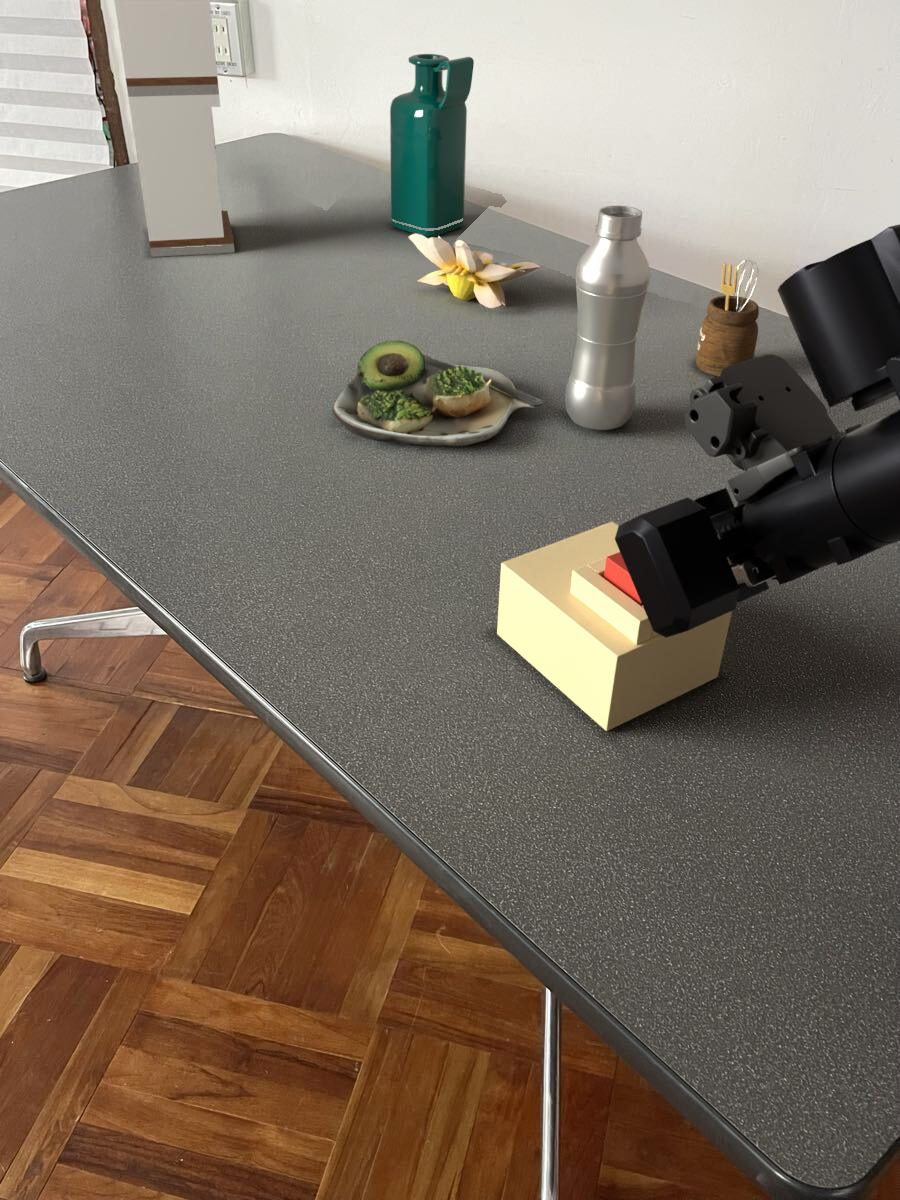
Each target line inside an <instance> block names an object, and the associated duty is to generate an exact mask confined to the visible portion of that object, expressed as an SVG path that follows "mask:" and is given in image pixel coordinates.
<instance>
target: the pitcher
mask: <svg viewBox="0 0 900 1200" xmlns="http://www.w3.org/2000/svg"><path fill="white" fill-rule="evenodd" d="M407 61H408V63H409V64H412V65H414V86H413V88H412V90H411V91H408V92H405V93H402V94H399V95H397V96H395V97H394V98H393V99H392V101H391V103H390V106H389V136H390V137H389V142H390V143H389V144H390V221H391V223H390V224H391V225H392V227H393V228H395V229H397V230H400V231H404V232H408V233H411V234H420V235H423V236H425V237H426V238H432V237H438V236H441V235H444V234H446V233H449V232H452V231H455V230H457V229H461V228H462V226H463V225H464V223H465V219H464V220H463V221H462V222H460V223H457V224H454V225H451V226H449V227H446V228H443V229H440V230H434V231H425V230H419V229H416V228H413V227H409V226H406V225H402V224H399V223H395V222H393V221H392V220H391V218H392V219H394V220H396V221H399V222H403V223H407V224H411V225H414V226H417V227H421V228H438V227H441V226H444V225H447V224H449V223H452V222H454V221H457V220H460V219H462V218H463V217H464V218H465V191H466V162H467V161H466V160H467V159H466V158H467V157H466V156H467V123H468V121H467V120H468V109H467V104H466V101H467V100H468V99H469V95H470V93H471V89H472V81H473V74H474V73H473V72H474V65H475V61H474V58H472V57H471V56H464V57H459V58H455V59H449V57H447V56H445V55H442V54H437V53H418V54H413V55H411V56H409V57H408V59H407ZM444 71H447V72H446V84H445V88H444V85H443V73H444ZM444 89H445V90H444Z"/></svg>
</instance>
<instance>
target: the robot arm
mask: <svg viewBox="0 0 900 1200" xmlns="http://www.w3.org/2000/svg"><path fill="white" fill-rule="evenodd" d="M777 292H778V295H779V297H780V299H781V301H782V302H781V303H782V304H783V306H784V309H785V311H786V313H787V315H788V318H789V319H790V323H791V324H792V327H793V329H794V332H795V334H796V336H797V339H798V341H799V344H800V345H801V347H802V350H803V352H804V355H805V357H806V359H807V362H808V365H809V366H810V368H811V371H812V373H813V376H814V378H815V381H816V383H817V385H818V387H819V389H820V392H821V394H822V396H823V399H825V400H826V403H827V405H828V407H829V408H832V407H835V406H838V405H839V404H842V403H845V402H846V401H849V400H850V399H851V400H850V403H851V405H852V408H853V411H854V412H859V411H862V410H865V409H868V408H870V407H873V406H876V405H879V404H880V403H883V402H886V401H888V400H890V399H893V398H895V397H897V399H898V402H900V224H899V223H898V224H895V225H891V226H888V227H886V228H885V229H884V230H882V231H880V232H879V233H877V234H876V235H875V236H873V237H872V238H869V239H867V240H864V241H862V242H860V243H857V244H855V245H853V246H850V247H848V248H846V249H844V250H842V251H839V252H838V253H836V254H834V255H832V256H830V257H828V258H826V259H825V260H820V261H816V262H813V263H809V264H807V265H805V266H803V267H801V268H800V269H799V270H797V271H796V272H794V273H793V274H792V275H790V276H789V277H788V278H787V279H785V280H784V281H783V282H782V283H781V284H780V285H779V286H778V288H777ZM689 401H690V406H689V407H688V409H687V410H686V411H685V413H684V424H685V427H686V429H687V430H688V431H689V433H690V434H691V436H692V437H693V438H694V440H696V442H697V444H699V446H700V447H701V449H702V450H703V451H704V453H706V455H707V456H708V457H711V458H718V457H721V456H723V455H726V457H727V458H728V459H729V461H730V462H731V463H732V464H733V465H734V466H735V467H737V468H738V469H740V470H742V471H744V472H742V473H739V474H738V475H736V476H734V477H732V478H729V479H728V480H727V483H728V485H729V487H730V491H731V492H732V495H733V497H734V500H735V501H736V502H737V506H735V505H734V502H733V499H732V497H731V495H730V493H729V490H728V489H727V487H724V488H722V489H719V490H716V491H713V492H711V493H708V494H706V495H703V496H699V497H698V498H695V499H694V500H693V499H691V498H690V497H685V498H682V499H679V500H677V501H674V502H671V503H669V504H666V505H663V506H660V507H658V508H656V509H655V508H654V509H653V510H650V511H647V512H645V513H641V514H640V515H639V514H638V515H637V516H635V517H633V518H631V519H630V520H629V519H628V520H627V521H625V522H623V523H621V524H618V526H619V527H618V530H617V533H616V536H615V541H616V543H617V546H618V548H619V550H620V553H621V555H622V558H623V560H624V562H625V565H626V567H627V569H628V572H629V574H630V577H631V579H632V581H633V584H634V586H635V589H636V591H637V593H638V596H639V598H640V600H641V603H642V605H643V608H644V610H645V612H646V615H647V617H648V619H649V622H650V624H651V627H652V629H653V631H654V632H656V633H658V634H660V635H662V636H664V637H665V638H667V637H670V636H673V635H676V634H679V633H683V632H686V631H689V630H691V629H693V628H695V627H697V626H700V625H702V624H704V623H706V622H708V621H711V620H713V619H715V618H717V617H719V616H722V615H724V614H726V613H728V612H730V611H732V612H733V611H735V610H736V609H737V604H738V603H741V602H743V601H745V600H747V599H750V598H752V597H754V596H757V595H759V594H761V593H763V592H765V591H767V590H769V589H770V587H769V585H768V582H767V581H771V580H773V581H777V582H778V584H779V586H780V585H784V584H786V583H790V582H793V581H795V580H798V579H800V578H802V577H804V576H806V575H808V574H810V573H812V572H816V571H817V570H819V569H821V568H824V567H827V566H830V565H833V564H836V565H837V566H841V565H844V564H846V563H849V562H853V561H855V560H857V559H860V558H861V557H863V556H866V555H869V554H870V553H873V552H874V551H877V550H879V549H881V548H884V547H885V546H889V545H892V544H896V543H897V542H900V408H898V409H896V410H894V411H891V412H889V413H887V414H885V415H883V416H881V417H879V418H876V419H875V420H873V421H870V422H868V423H867V424H865V425H862V424H861V423H858V424H856V425H853V426H850V427H848V428H845V429H843V430H841V431H839V429H838V428H837V426H836V425H835V423H834V422H833V420H832V419H831V417H830V416H829V413H828V409H827V407H826V406H825V404H824V403H823V402H822V399H820V398H819V397H818V396H817V394H816V392H814V391H813V390H812V388H811V386H809V385H808V383H806V381H805V380H804V378H802V377H801V375H800V374H799V373H798V372H797V371H796V370H795V369H794V367H793V366H792V365H791V363H789V361H787V359H785V358H783V357H781V356H779V355H776V354H772V353H770V354H764V355H760V356H757V357H753V359H750V360H747V361H744V362H740V363H737V364H734V365H731V366H728V367H725V368H724V369H723V370H722V371H721V373H720V374H719V376H714V377H711V378H709V379H708V380H707V382H706V383H705V384H704V385H703V386H702V387H699V388H695V389H693V390H691V391H690V394H689Z"/></svg>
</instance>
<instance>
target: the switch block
mask: <svg viewBox="0 0 900 1200" xmlns="http://www.w3.org/2000/svg"><path fill="white" fill-rule="evenodd" d="M618 527H619V524H617V523H615V522H614V521H609V522H607V523H605V524H601V525H599V526H597V527H596V526H595V527H594V528H591V529H588V530H586V531H583V532H580V533H577V534H575V535H572V536H570V537H567V538H564V539H562V540H561V539H560V540H558V541H556V542H553V543H550V544H548V545H546V546H542V547H539V548H538V549H535V550H531V551H530V552H526V553H524V554H521V555H519V556H516V557H513V558H510V559H507V560H505V561H502V562H501V563H500V576H499V577H500V579H499V595H498V609H497V610H498V611H497V613H498V614H497V626H496V627H497V629H496V634H497V636H498V637H500V638H501V639H502V640H503V641H504V642H505V643H506V644H507V645H509V646H510V647H511V648H512V649H513V650H514V651H515V652H516V653H517V654H519V655H520V656H521V657H522V658H523V659H524V660H525V661H527V662H528V663H529V664H530V665H531V666H532V667H533V668H535V670H537V672H539V673H540V674H541V675H543V676H544V677H545V679H547V680H548V681H549V682H550V683H551V684H552V685H554V686H555V687H556V688H557V689H558V690H559V691H561V693H563V694H564V696H566V697H567V698H568V699H569V700H570V701H572V702H573V703H574V704H575V705H576V706H577V707H579V709H581V710H582V711H583V712H584V713H585V714H586V715H587V716H588V717H590V718H591V719H592V720H593V721H594V722H595V723H596V724H598V725H599V727H601V728H602V729H603V730H604V731H606V732H608V731H611V730H613V729H614V728H616V727H618V726H620V725H623V724H625V723H627V722H630V721H631V720H633V719H635V718H637V717H639V716H641V715H644V714H645V713H647V712H650V711H651V710H653V709H655V708H657V707H660V706H661V705H663V704H666V703H668V702H670V701H672V700H674V699H676V698H678V697H680V696H683V695H684V694H686V693H688V692H691V691H692V690H694V689H696V688H698V687H700V686H703V685H704V684H706V683H708V682H710V681H712V680H714V679H715V680H716V679H717V678H718V677H719V674H720V669H721V664H722V659H723V655H724V652H725V651H724V650H725V646H726V641H727V636H728V632H729V627H730V623H731V619H732V614H733V611H730V612H728V613H726V614H724V615H722V616H719V617H717V618H715V619H713V620H711V621H708V622H706V623H704V624H702V625H700V626H697V627H695V628H693V629H691V630H689V631H686V632H683V633H679V634H676V635H673V636H670V637H667V638H665V637H664V636H662V635H660V634H658V633H656V632H654V631H653V629H652V627H651V624H650V622H649V619H648V617H647V615H646V612H645V610H644V608H643V606H640V605H639V604H638V603H636V602H635V601H634V600H632V599H631V598H630V597H628V596H627V595H626V594H624V593H623V592H622V591H620V590H619V589H618V588H616V587H615V586H614V585H612V584H611V583H610V582H608V581H607V580H606V579H604V572H605V564H606V557H608V556H610V555H613V554H616V553H618V552H620V550H619V548H618V546H617V543H616V541H615V536H616V533H617V530H618Z"/></svg>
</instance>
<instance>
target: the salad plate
mask: <svg viewBox="0 0 900 1200" xmlns="http://www.w3.org/2000/svg"><path fill="white" fill-rule="evenodd" d="M543 403H544V401H543V400H542V399H541V398H539V397H537V396H534V395H532V394H529V393H526V392H524V391H521V390H519V389H516V388H515V385H514V384H513V382H512V381H511V380H510V378H508V377H507V376H505V374H504V373H503V374H502V373H501V372H500V371H498V370H496V369H492V368H487V367H480V366H470V365H462V364H460V365H459V364H452V363H447V362H443V361H440V360H438V359H434V358H432V357H431V356H429V355H427V354H423V353H422V351H421V350H420V349H419V348H418V347H417V346H415V345H414V344H411V343H410V342H407V341H403V340H397V339H396V340H385V341H383V342H380V343H377V344H375V345H373V346H372V347H370V348H368V350H366V352H364V353H363V355H361V357H360V359H359V360H358V362H357V371H356V373H355V374H354V375H353V377H352V378H351V379H350V381H349V382H348V384H347V385H346V386H345V388H344V389H343V390H342V391H341V393H340V395H339V396H338V397H337V398H336V400H335V403H334V404H333V405H332V409H331V412H332V415H333V416H334V417H335V419H336V420H337V421H338V422H339V423H340V424H341V425H342V426H343V427H344V428H345V429H346V430H347V431H348V432H350V433H351V434H354V435H356V436H359V437H361V438H366V439H368V440H373V441H380V442H390V443H396V444H401V445H411V446H412V445H416V446H450V447H465V446H466V447H467V446H470V445H475V444H477V443H482V442H484V441H487V440H490V439H491V438H493V437H495V436H496V435H497V434H499V433H500V431H502V429H503V428H504V426H505V425H506V423H507V421H508V418H509V417H510V416H511V414H512V413H513V412H515V411H516V410H518V409H521V408H539V407H541V406H542V405H543Z"/></svg>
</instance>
